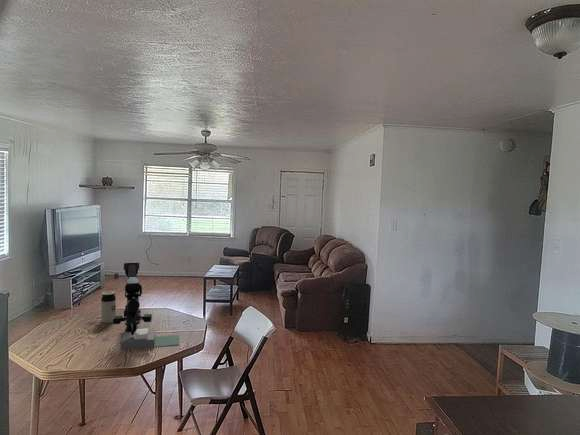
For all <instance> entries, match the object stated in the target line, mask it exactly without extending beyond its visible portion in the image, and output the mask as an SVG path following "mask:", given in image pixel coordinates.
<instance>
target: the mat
mask: <svg viewBox="0 0 580 435" xmlns="http://www.w3.org/2000/svg"><path fill="white" fill-rule="evenodd" d="M172 346H180V335H179V334H174V335H160V336H155V344H154V348H160V347H161V348H162V347H172Z"/></svg>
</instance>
